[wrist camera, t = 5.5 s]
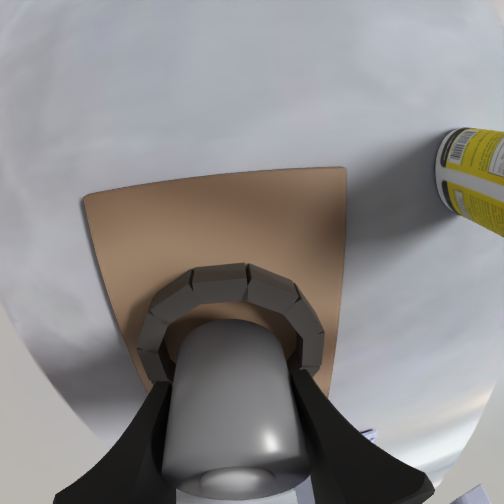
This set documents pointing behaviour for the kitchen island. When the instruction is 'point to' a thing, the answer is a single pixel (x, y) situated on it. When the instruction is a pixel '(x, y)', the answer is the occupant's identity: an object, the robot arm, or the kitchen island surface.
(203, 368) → the cap
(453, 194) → the supplement bottle
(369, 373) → the kitchen island surface
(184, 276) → the ring board
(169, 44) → the kitchen island surface
